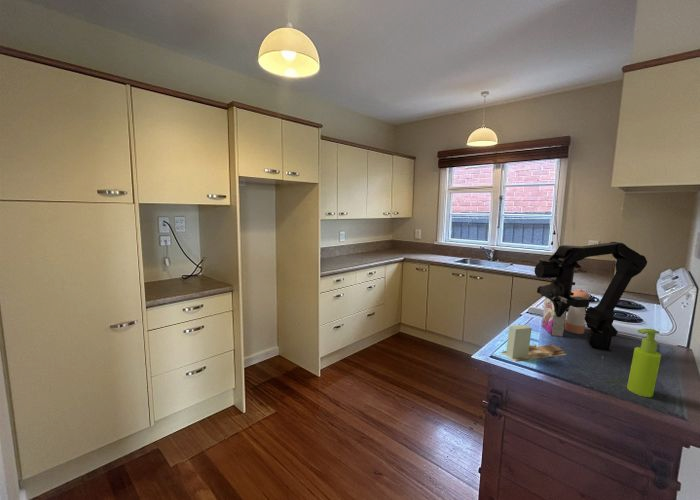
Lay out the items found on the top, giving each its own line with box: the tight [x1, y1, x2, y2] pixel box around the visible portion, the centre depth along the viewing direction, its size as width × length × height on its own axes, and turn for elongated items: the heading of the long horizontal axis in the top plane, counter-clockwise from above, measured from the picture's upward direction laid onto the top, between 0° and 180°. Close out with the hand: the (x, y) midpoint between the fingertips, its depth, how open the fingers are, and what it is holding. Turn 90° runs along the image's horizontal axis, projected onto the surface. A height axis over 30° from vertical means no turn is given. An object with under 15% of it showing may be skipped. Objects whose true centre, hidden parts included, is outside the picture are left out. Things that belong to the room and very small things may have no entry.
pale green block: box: [505, 323, 533, 360], centre depth 114 cm, size 7×3×11 cm, turn 106°
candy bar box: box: [541, 297, 568, 338], centre depth 139 cm, size 11×5×16 cm, turn 168°
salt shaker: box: [564, 288, 590, 335], centre depth 140 cm, size 7×7×19 cm
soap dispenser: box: [626, 328, 662, 398], centre depth 95 cm, size 6×7×20 cm
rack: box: [500, 344, 567, 363], centre depth 117 cm, size 24×7×2 cm, turn 106°
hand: (558, 316), depth 124 cm, fingers closed
